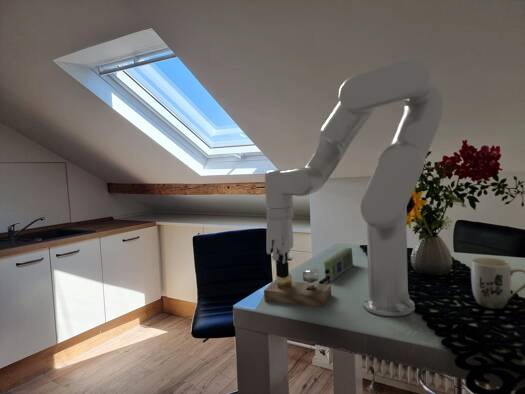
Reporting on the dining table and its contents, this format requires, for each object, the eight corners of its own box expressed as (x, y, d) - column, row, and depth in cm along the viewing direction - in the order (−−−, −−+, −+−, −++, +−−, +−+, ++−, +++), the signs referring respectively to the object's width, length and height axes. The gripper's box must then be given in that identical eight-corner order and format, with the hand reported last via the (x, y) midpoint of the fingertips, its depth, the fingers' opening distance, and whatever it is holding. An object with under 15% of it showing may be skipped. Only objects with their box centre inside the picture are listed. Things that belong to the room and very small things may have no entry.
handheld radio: (354, 265, 133) (326, 287, 112) (346, 265, 135) (316, 286, 114) (353, 247, 132) (324, 266, 112) (344, 247, 134) (314, 265, 114)
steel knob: (321, 291, 101) (320, 271, 101) (306, 293, 100) (305, 273, 100) (315, 286, 106) (314, 267, 105) (301, 288, 105) (300, 269, 104)
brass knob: (294, 296, 105) (293, 277, 104) (279, 298, 104) (278, 279, 103) (289, 291, 109) (288, 272, 109) (275, 293, 108) (274, 274, 108)
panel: (331, 294, 105) (330, 284, 105) (323, 307, 97) (322, 296, 97) (276, 289, 112) (275, 280, 112) (264, 300, 104) (263, 290, 104)
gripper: (277, 209, 112) (280, 267, 114) (256, 217, 99) (260, 283, 101) (300, 209, 109) (303, 269, 111) (282, 217, 96) (285, 285, 98)
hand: (282, 275), depth 106 cm, fingers closed
